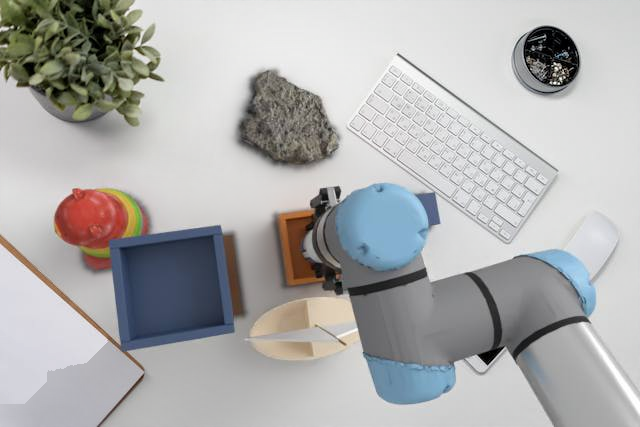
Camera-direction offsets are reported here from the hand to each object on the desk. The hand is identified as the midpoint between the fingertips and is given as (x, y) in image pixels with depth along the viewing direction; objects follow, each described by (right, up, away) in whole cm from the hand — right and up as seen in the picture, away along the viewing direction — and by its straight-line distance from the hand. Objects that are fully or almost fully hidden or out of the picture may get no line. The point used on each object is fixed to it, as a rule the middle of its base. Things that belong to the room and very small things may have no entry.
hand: (317, 246), depth 81 cm
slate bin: (-18, -5, -2) cm, 19 cm away
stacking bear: (-30, +3, -3) cm, 30 cm away
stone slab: (-4, +20, +3) cm, 20 cm away
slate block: (+15, +5, +5) cm, 17 cm away
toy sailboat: (-1, -12, 0) cm, 12 cm away
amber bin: (0, 0, +1) cm, 1 cm away
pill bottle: (0, 0, +1) cm, 1 cm away
